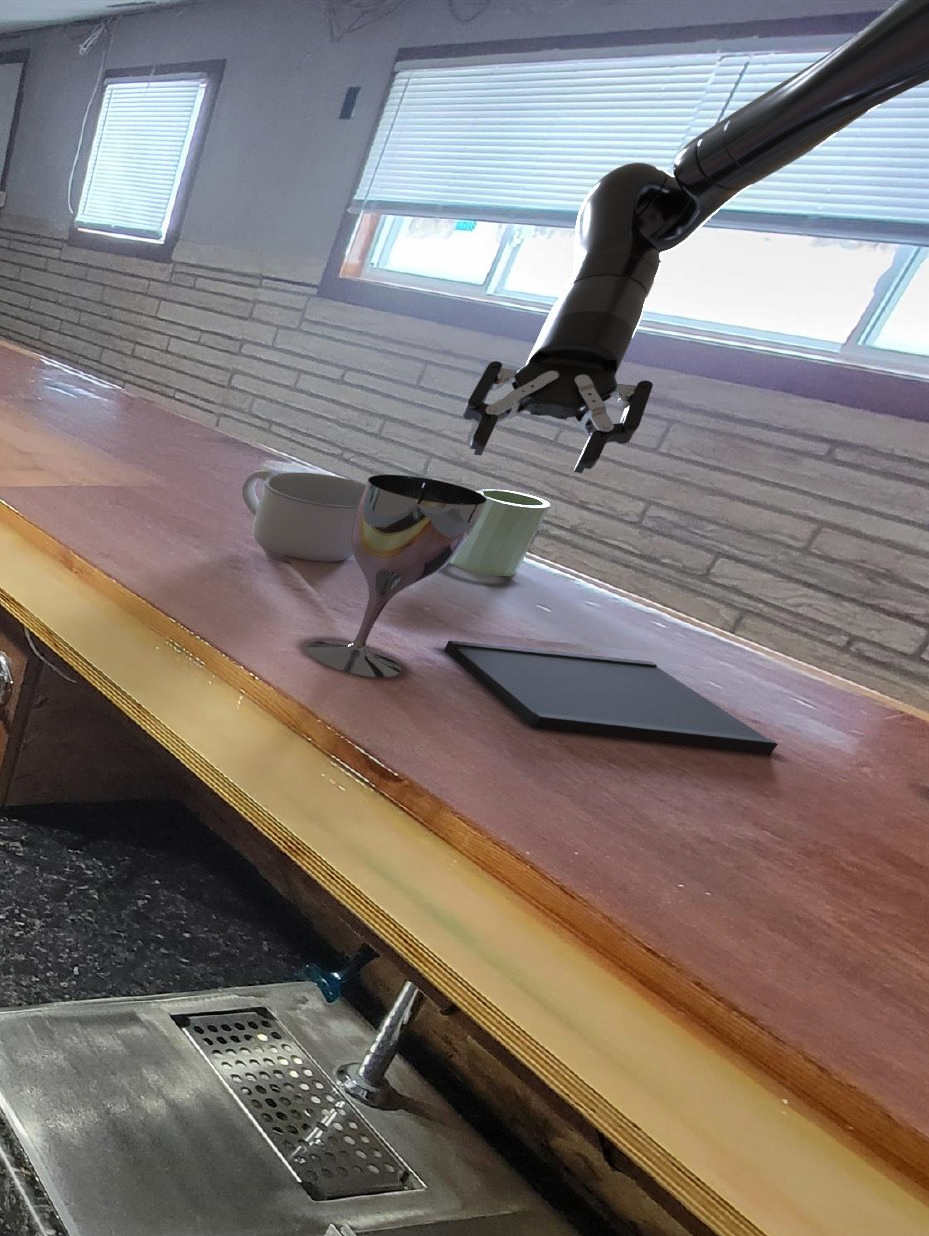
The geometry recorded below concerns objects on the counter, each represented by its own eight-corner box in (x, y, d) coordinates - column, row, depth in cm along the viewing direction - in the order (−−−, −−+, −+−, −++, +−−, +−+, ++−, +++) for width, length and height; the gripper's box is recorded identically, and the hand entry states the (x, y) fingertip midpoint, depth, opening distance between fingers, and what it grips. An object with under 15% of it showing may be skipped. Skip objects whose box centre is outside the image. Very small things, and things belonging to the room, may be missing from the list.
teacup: (378, 574, 105) (410, 500, 101) (291, 578, 103) (319, 503, 99) (280, 529, 117) (305, 461, 113) (200, 533, 115) (222, 463, 111)
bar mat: (644, 672, 87) (651, 661, 86) (769, 756, 75) (778, 743, 74) (443, 651, 89) (448, 640, 88) (533, 729, 77) (540, 716, 76)
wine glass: (392, 648, 89) (467, 482, 81) (419, 687, 82) (503, 510, 75) (292, 633, 91) (356, 469, 84) (310, 669, 84) (382, 496, 77)
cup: (490, 569, 108) (528, 492, 104) (522, 589, 103) (563, 509, 99) (430, 563, 109) (465, 486, 105) (459, 583, 104) (496, 504, 100)
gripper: (514, 300, 108) (455, 425, 106) (689, 317, 100) (630, 453, 98) (495, 346, 114) (439, 465, 112) (659, 366, 106) (603, 494, 104)
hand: (528, 459), depth 105 cm, fingers open, 8 cm apart
